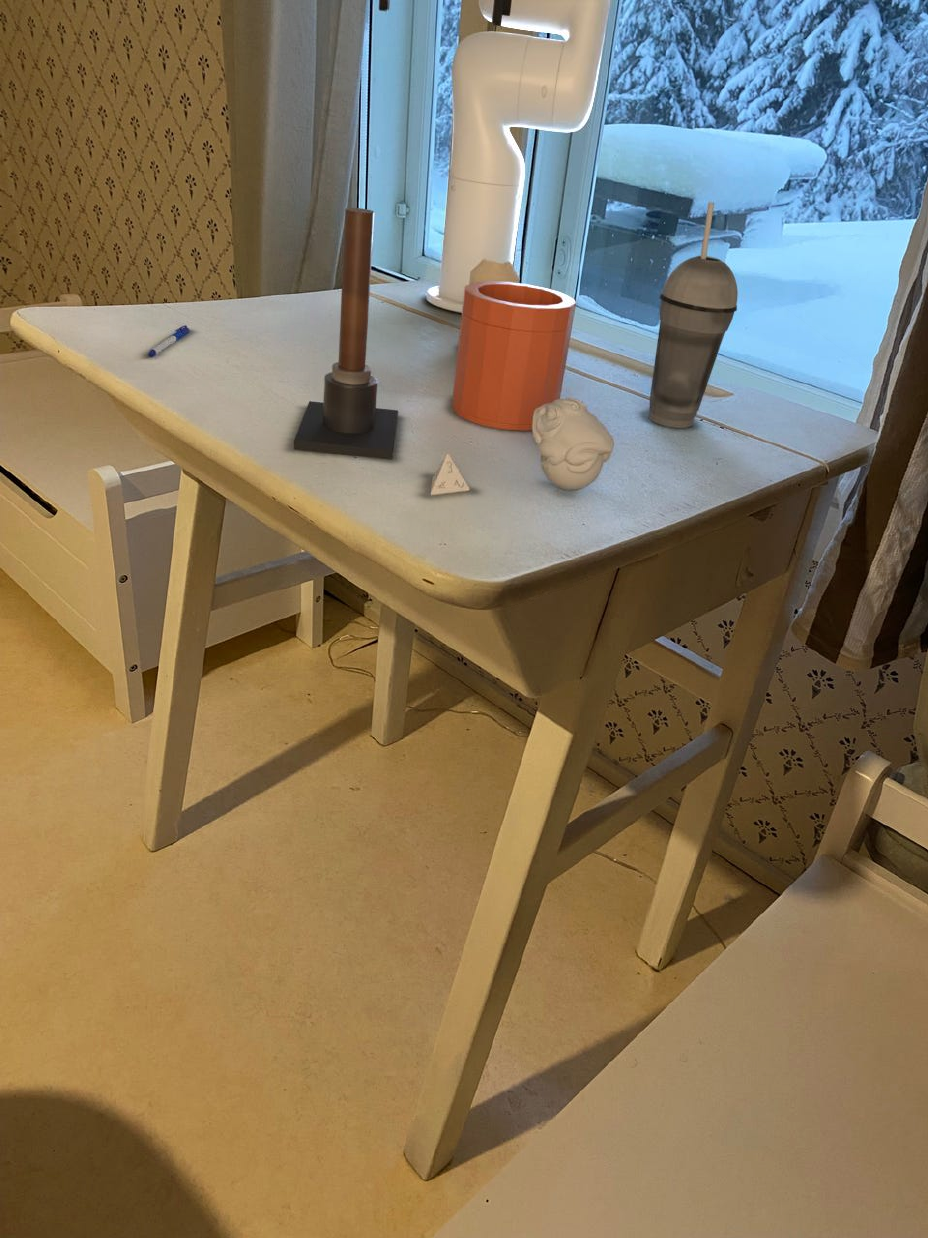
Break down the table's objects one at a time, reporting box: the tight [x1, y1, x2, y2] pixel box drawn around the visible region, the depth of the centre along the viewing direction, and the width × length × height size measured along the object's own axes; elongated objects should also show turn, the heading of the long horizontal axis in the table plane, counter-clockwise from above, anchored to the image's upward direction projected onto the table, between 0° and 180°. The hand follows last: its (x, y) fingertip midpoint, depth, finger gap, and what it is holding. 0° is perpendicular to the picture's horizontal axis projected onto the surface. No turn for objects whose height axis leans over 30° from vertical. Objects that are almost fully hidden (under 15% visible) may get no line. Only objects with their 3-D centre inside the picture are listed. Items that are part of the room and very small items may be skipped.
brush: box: [323, 207, 379, 434], centre depth 75 cm, size 4×4×17 cm
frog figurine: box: [531, 397, 615, 491], centre depth 73 cm, size 6×7×7 cm
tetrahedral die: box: [430, 453, 471, 496], centre depth 71 cm, size 4×3×3 cm
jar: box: [451, 281, 577, 432], centre depth 87 cm, size 10×10×11 cm
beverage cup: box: [647, 201, 739, 429], centre depth 88 cm, size 7×7×20 cm
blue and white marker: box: [147, 325, 190, 357], centre depth 96 cm, size 10×1×1 cm, turn 176°
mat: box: [293, 400, 399, 460], centre depth 80 cm, size 10×8×1 cm
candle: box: [469, 259, 521, 284], centre depth 105 cm, size 6×6×10 cm
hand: (440, 17), depth 79 cm, fingers open, 9 cm apart
